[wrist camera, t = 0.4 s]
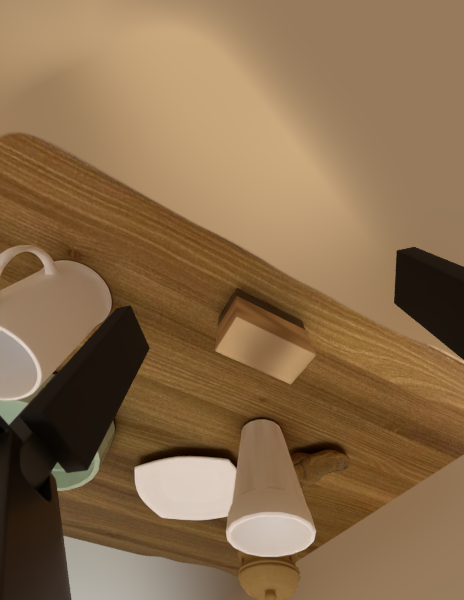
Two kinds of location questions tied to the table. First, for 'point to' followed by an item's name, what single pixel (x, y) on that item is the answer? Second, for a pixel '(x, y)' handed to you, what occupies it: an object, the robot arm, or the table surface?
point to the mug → (45, 319)
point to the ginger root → (317, 465)
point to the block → (263, 337)
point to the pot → (268, 576)
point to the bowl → (63, 479)
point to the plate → (187, 487)
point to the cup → (267, 496)
